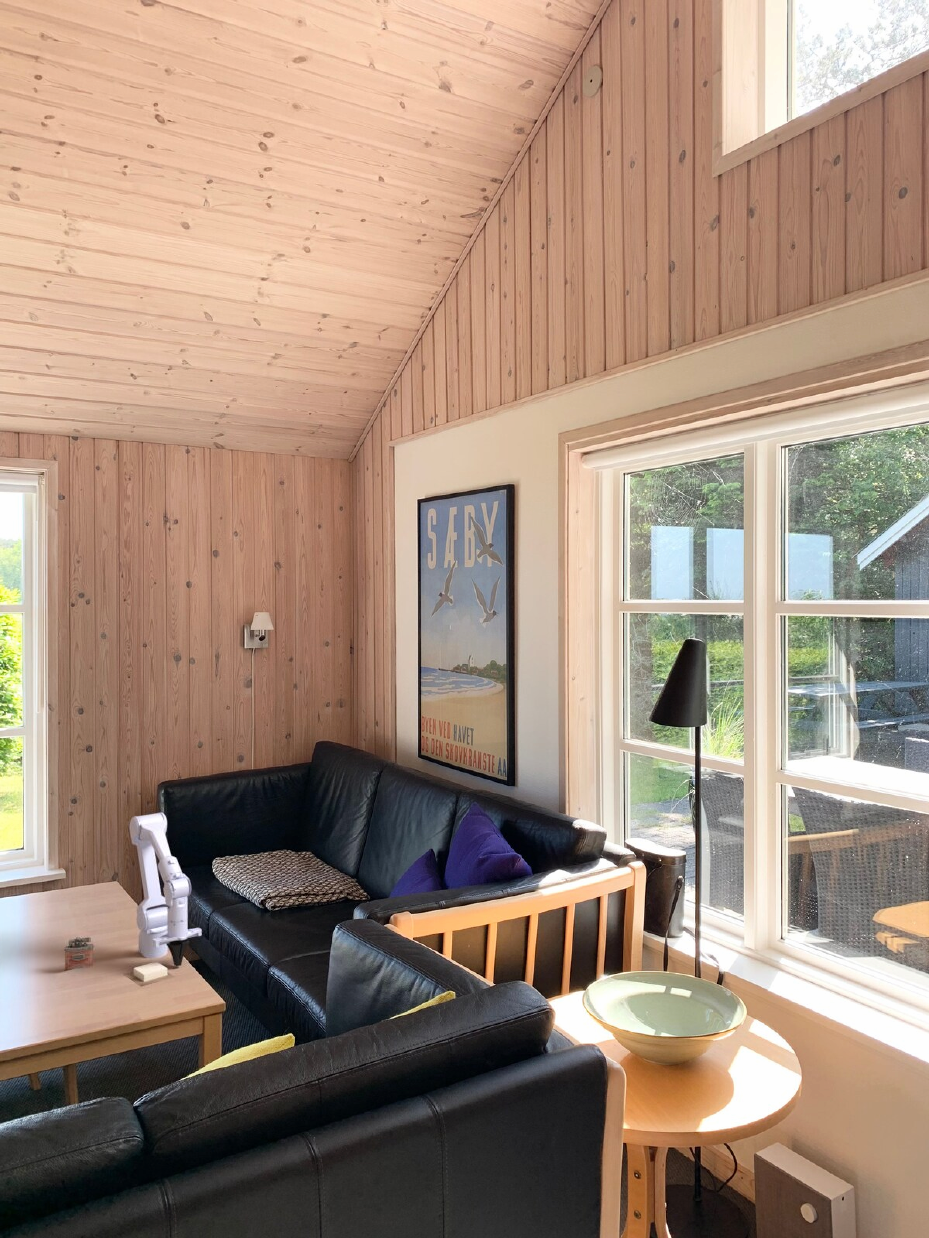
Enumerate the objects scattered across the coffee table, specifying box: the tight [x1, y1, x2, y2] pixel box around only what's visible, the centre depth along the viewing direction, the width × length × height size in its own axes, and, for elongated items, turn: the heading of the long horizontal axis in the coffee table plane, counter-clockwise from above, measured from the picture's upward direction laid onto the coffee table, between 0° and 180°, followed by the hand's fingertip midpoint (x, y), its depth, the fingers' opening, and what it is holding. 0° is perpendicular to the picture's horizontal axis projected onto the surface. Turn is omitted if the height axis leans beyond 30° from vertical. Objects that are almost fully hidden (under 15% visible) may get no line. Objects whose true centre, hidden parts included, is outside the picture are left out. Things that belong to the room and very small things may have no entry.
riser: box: [123, 970, 175, 987], centre depth 269 cm, size 12×10×2 cm
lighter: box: [63, 936, 94, 972], centre depth 276 cm, size 8×3×10 cm, turn 105°
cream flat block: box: [133, 961, 168, 982], centre depth 269 cm, size 7×7×2 cm
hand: (177, 964), depth 275 cm, fingers closed
